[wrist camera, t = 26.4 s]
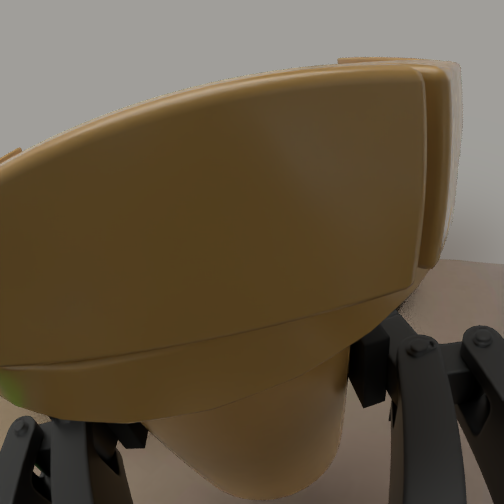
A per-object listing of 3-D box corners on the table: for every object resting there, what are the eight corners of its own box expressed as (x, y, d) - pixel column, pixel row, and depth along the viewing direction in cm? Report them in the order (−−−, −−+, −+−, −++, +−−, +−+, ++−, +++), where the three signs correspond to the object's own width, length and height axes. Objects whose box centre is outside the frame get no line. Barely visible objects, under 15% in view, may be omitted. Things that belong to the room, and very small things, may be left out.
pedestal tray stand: (408, 495, 9) (620, 110, 1) (160, 540, 9) (-164, 310, 1) (338, 326, 18) (318, 59, 10) (162, 365, 17) (50, 131, 10)
